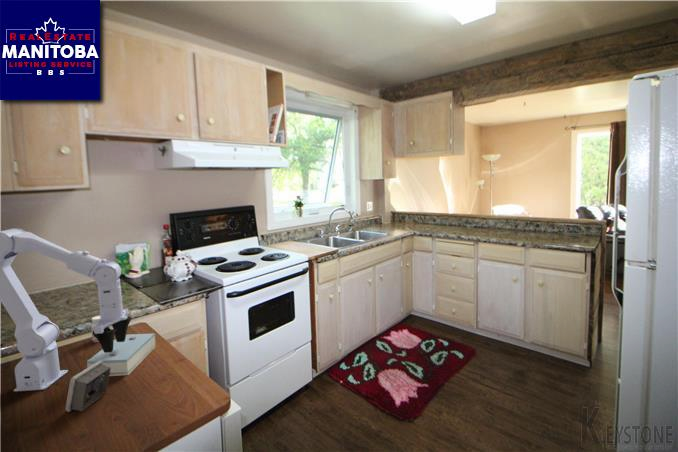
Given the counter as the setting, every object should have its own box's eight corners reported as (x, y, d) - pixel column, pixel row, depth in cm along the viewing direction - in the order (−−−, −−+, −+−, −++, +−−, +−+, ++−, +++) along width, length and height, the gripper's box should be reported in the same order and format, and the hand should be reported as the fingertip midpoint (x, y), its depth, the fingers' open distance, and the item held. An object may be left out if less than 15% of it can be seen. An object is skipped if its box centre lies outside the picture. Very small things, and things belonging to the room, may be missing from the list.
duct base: (128, 375, 100) (126, 362, 99) (88, 377, 99) (87, 364, 99) (155, 346, 118) (154, 335, 117) (122, 348, 117) (121, 337, 116)
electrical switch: (95, 390, 92) (95, 358, 91) (113, 393, 92) (113, 360, 91) (64, 413, 83) (63, 377, 82) (83, 416, 83) (83, 380, 82)
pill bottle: (100, 343, 121) (97, 320, 120) (89, 342, 122) (86, 319, 121) (111, 337, 126) (109, 315, 125) (100, 336, 127) (98, 314, 126)
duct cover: (121, 337, 116) (121, 334, 116) (154, 335, 117) (154, 332, 117) (87, 364, 98) (86, 360, 98) (126, 362, 99) (126, 358, 99)
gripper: (111, 311, 95) (115, 357, 96) (136, 294, 109) (140, 335, 111) (84, 312, 94) (89, 359, 96) (113, 295, 109) (117, 336, 110)
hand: (114, 346), depth 103 cm, fingers open, 6 cm apart
